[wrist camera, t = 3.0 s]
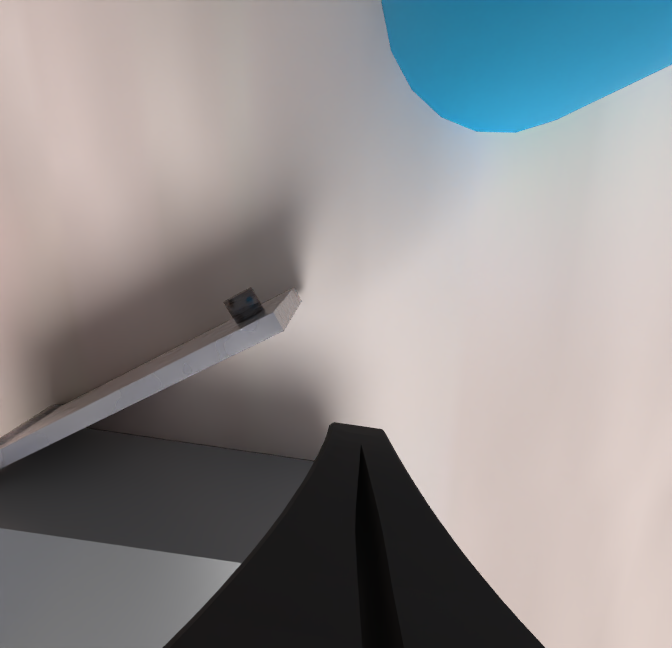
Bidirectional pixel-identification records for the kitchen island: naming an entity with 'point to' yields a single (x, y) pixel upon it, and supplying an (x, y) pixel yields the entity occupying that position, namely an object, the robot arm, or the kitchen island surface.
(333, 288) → the kitchen island surface
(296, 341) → the kitchen island surface
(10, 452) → the side door
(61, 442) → the camera body
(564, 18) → the mug
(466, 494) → the kitchen island surface
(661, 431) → the kitchen island surface
